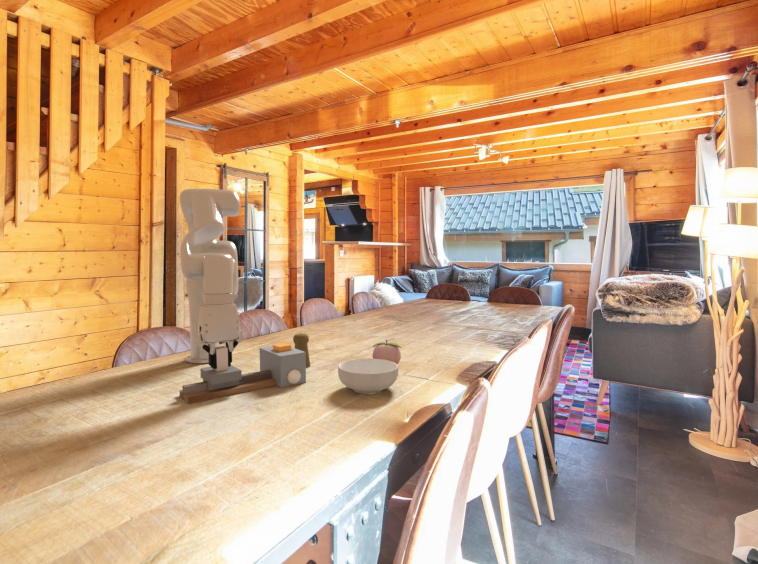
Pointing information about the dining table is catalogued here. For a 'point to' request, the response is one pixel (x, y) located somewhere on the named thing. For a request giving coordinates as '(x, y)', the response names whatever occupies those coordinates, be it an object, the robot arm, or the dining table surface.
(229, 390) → the rail track
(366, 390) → the cereal bowl
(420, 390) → the dining table surface
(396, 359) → the decorative fruit
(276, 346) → the button
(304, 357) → the grey button housing
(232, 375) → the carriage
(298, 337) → the cork
